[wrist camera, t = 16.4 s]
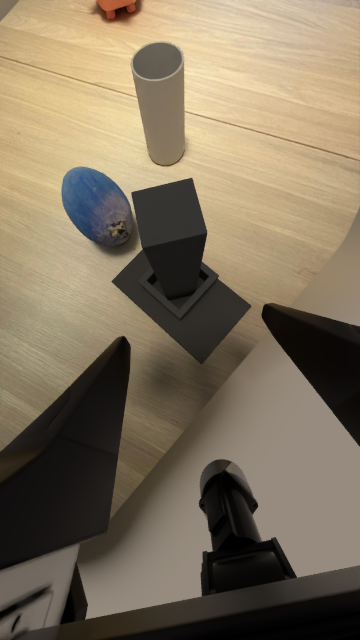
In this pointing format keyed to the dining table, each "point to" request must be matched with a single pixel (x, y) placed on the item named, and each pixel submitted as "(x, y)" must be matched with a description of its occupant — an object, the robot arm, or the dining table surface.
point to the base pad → (185, 306)
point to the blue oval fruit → (97, 206)
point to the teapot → (116, 6)
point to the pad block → (172, 235)
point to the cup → (161, 99)
